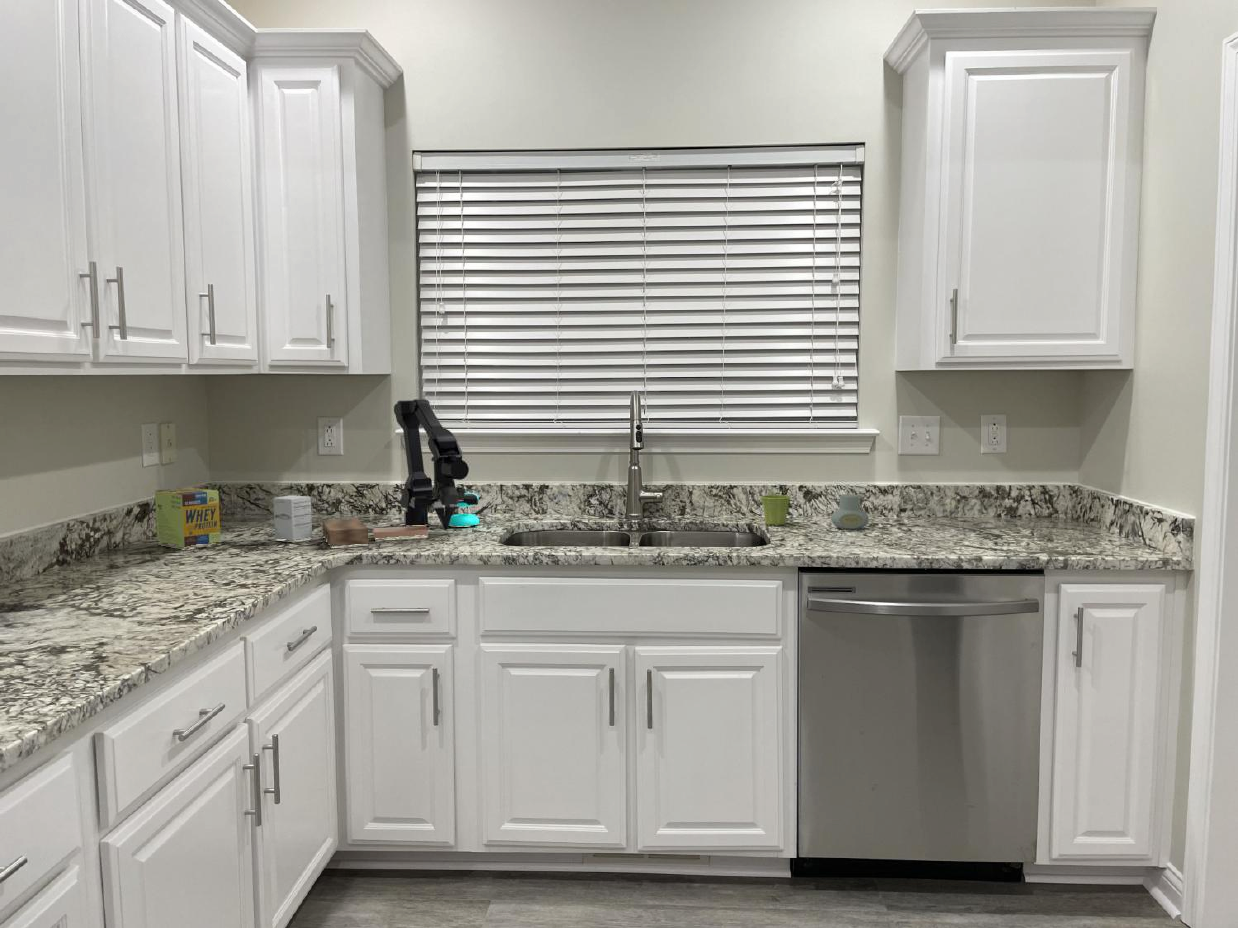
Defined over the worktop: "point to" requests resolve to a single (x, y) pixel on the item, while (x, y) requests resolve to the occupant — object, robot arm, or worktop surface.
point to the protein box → (187, 516)
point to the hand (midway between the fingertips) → (445, 529)
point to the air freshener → (849, 513)
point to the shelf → (345, 532)
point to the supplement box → (292, 517)
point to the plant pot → (775, 508)
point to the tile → (400, 531)
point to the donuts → (464, 517)
